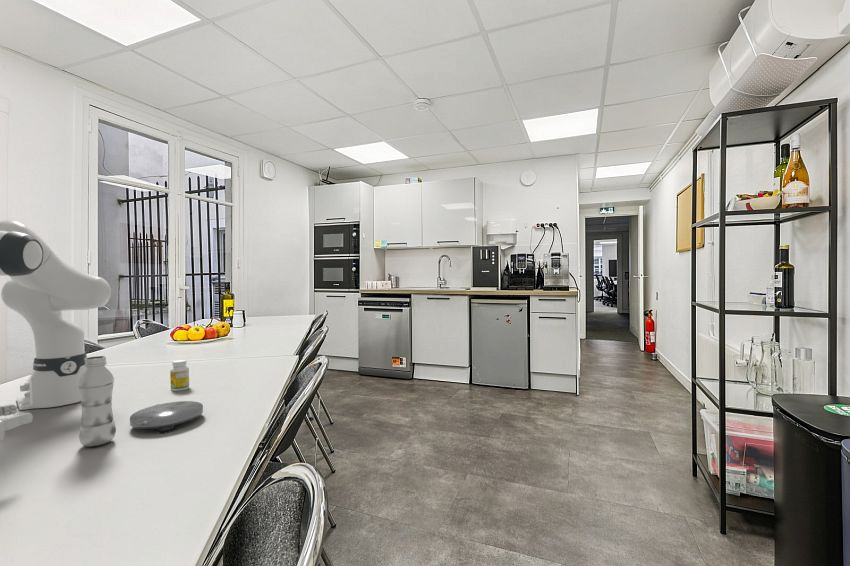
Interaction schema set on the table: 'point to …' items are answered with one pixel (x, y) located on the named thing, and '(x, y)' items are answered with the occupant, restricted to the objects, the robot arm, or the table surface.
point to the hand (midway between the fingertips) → (23, 412)
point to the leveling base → (166, 415)
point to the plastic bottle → (96, 403)
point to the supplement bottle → (179, 375)
